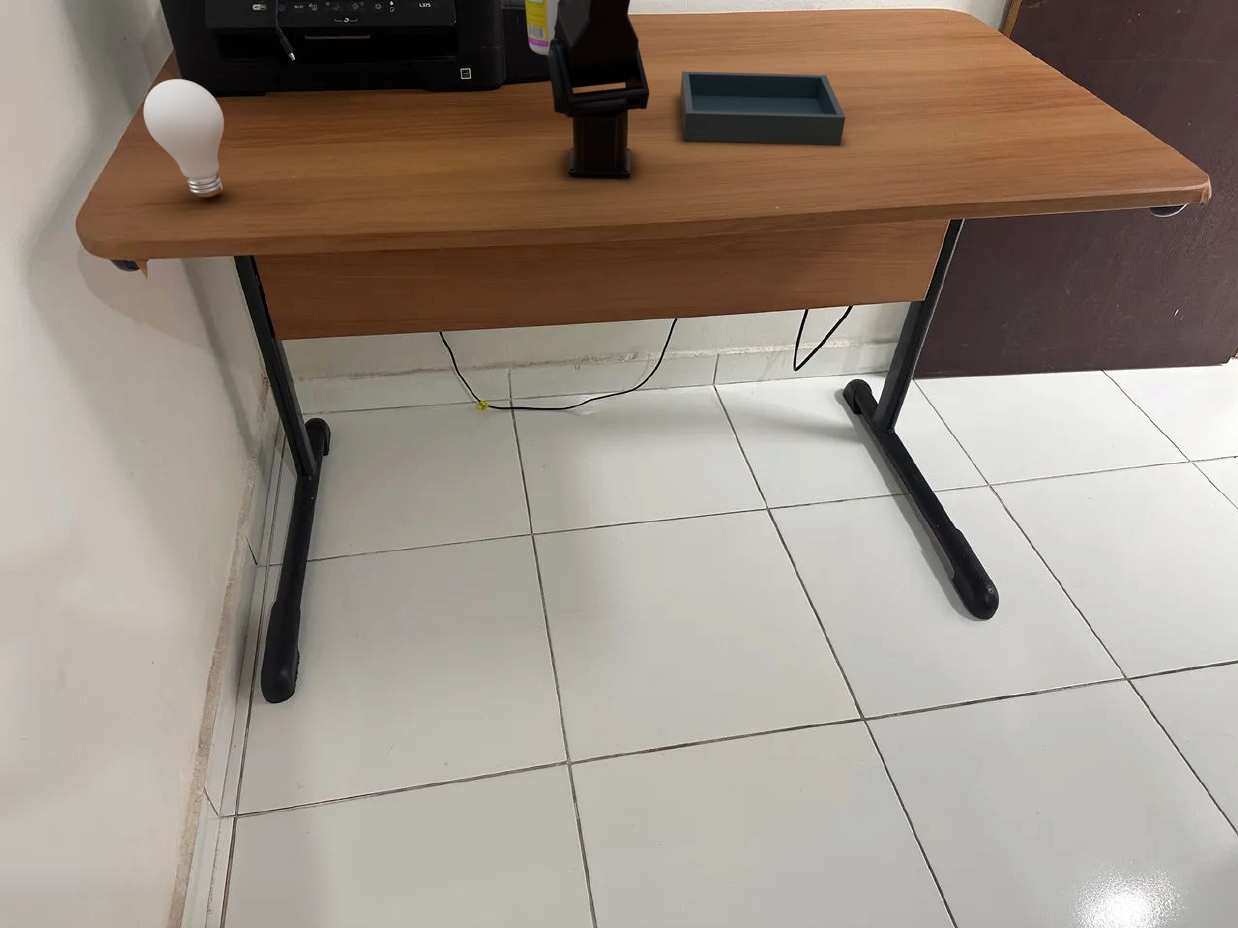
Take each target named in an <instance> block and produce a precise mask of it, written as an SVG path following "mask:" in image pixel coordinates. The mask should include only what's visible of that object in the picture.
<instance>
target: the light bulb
mask: <svg viewBox="0 0 1238 928" xmlns="http://www.w3.org/2000/svg"><path fill="white" fill-rule="evenodd" d="M143 119H144V123H145V126H146V128H147V131H148V132H149V134H150V136H151V137H152V139H153V140H154V141H155V142H156V143H157V144H158V145H160V147H161V148H162V149H164V150H165V151H166V153H168V154H169V156H171V157H172V158H173V160H174V161H175V162H176V163H177V165H178V167H179V169H180V171H181V173H182V175H184V176H185V177H186V178H187V179H186V182H187V183H188V187H189V192H191V193H192V194H193V196H196V197H199V198H203V199H212V198H214V197H216V196H217V195H219V194H220V193H221V192H222V191H223V188H224V186H223V182H222V180H221V179H222V178H221V177H220V175H219V174H218V172H219V170H220V164H219V158H218V155H219V149H220V144H221V141H222V138H223V134H224V130H225V120H224V113H223V112H222V109H221V106H220V105H219V103H218V101H217V100H216V98H215V97H214V96H213V95H212V94H211V93H210V92H209V90H207V89H206V88H204V87H203V86H202V85H200V84H198V83H196V82H194V81H191V80H186V79H183V78H177V79H175V78H173V79H167V80H164V81H162V82H160V83H158V84H156V85H155V86H154V87H153V88H152V89H151V90H150V91H149V92H148V94H147V96H146V98H145V100H144V105H143Z"/></svg>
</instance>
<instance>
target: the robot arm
mask: <svg viewBox="0 0 1238 928" xmlns="http://www.w3.org/2000/svg"><path fill="white" fill-rule="evenodd" d="M630 4H631V0H559V1H558V7H557V19H556V24H555V27H554V31H555V34H554V39H551V41H550V46H549V52H548V55H546V63H547V68H548V73H549V78H550V84H551V92H552V96H553V97H552V98H553V111H554V112H555V113H557V114H562V115H564V116H566V118H567V119H572V147H571V148H570V154H569V159H568V166H567V175H568V176H571V177H594V178H595V177H600V178H602V177H603V178H605V177H606V178H629V177H631V171H632V170H631V169H632V168H631V165H632V149H631V148H628V137H629V135H628V134H629V111H633V110H646V109H647V107H648V103H649V98H650V89H649V84H648V79H647V75H646V71H645V66H644V64H643V58H642V55H641V50H640V47H639V37H638V35H637V33H636V30H635V27H634V26H633V25H634V24H633V23H632V20H631V18H630V16H629V8H630ZM615 84H624V86H625V87H617V88H608V89H599V90H592V91H591V90H590V91H589V90H588V91H582V92H574V90H573V89H578V88H587V87H588V88H589V87H596V86H606V85H607V86H608V85H615Z"/></svg>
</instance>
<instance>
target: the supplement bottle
mask: <svg viewBox="0 0 1238 928" xmlns="http://www.w3.org/2000/svg"><path fill="white" fill-rule="evenodd" d="M558 1H559V0H524V3H525V14H526V27H527V38H528V45H529V48H530V49H531V50H532V52H534V53H536V54H539V55H541V56H547V55H548V52H549V46H550V41H551V39H554V34H555V31H554V27H555V24H556V19H557V7H558Z"/></svg>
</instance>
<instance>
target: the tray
mask: <svg viewBox="0 0 1238 928" xmlns="http://www.w3.org/2000/svg"><path fill="white" fill-rule="evenodd" d="M679 98H680V109H681V121H682V131H683V132H682V133H683V141H684V142H688V141H689V142H715V143H716V142H717V143H718V142H720V143H721V142H722V143H723V142H724V143H725V142H726V143H753V144H754V143H755V144H790V145H791V144H792V145H793V144H794V145H795V144H796V145H827V146H828V145H830V146H831V145H832V146H841V142H842V138H843V132H844V129H845V122H846V115H845V114H844V111H843V109H842V107H841V105H840V102H839V99H838V98H837V96H836V94H835V92H834V89H833V87H832V85H831V83H830V80H829V78H828V75H826V74H791V73H790V74H789V73H758V72H757V73H754V72H753V73H752V72H722V71H721V72H719V71H717V72H716V71H714V72H713V71H684V70H683V71H681V79H680V96H679Z"/></svg>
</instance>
